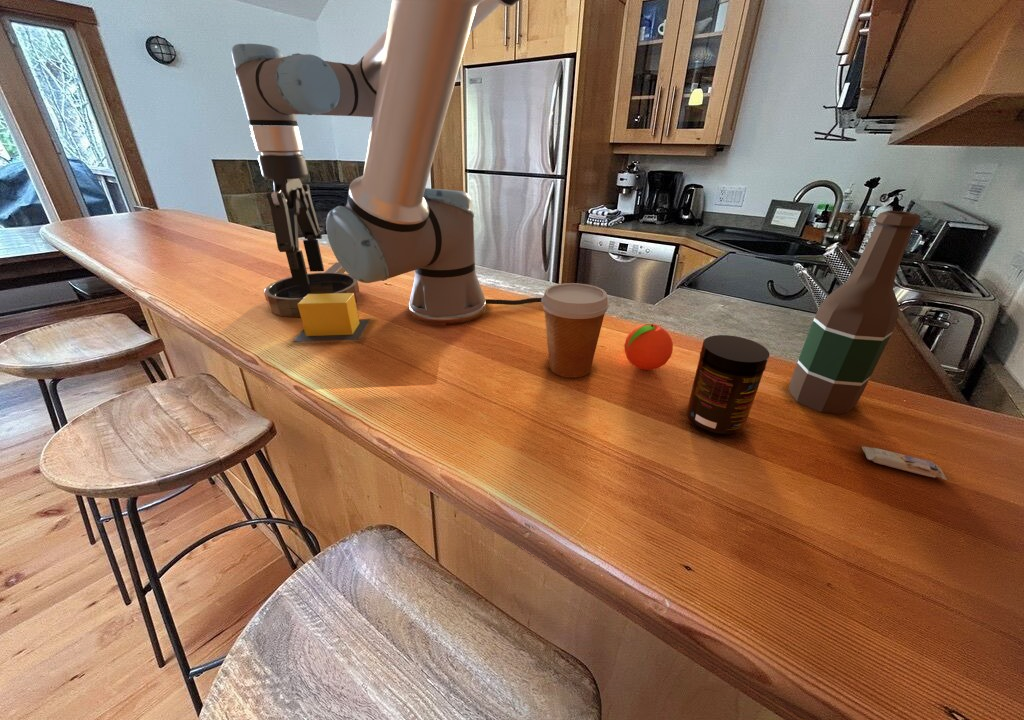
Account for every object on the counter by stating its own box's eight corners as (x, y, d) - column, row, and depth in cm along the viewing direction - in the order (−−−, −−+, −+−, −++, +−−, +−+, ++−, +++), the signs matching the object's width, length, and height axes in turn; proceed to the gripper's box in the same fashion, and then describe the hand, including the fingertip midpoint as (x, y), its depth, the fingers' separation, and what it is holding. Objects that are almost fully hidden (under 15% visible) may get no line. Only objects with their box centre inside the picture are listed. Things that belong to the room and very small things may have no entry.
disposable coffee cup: (582, 391, 57) (590, 310, 51) (526, 370, 62) (528, 294, 56) (612, 364, 64) (622, 290, 58) (559, 347, 69) (563, 278, 63)
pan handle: (347, 269, 104) (346, 262, 103) (334, 282, 94) (332, 275, 93) (336, 269, 103) (335, 262, 103) (322, 283, 94) (320, 275, 93)
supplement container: (750, 420, 51) (776, 346, 46) (735, 448, 47) (761, 368, 42) (695, 401, 55) (713, 330, 50) (676, 424, 51) (694, 349, 46)
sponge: (359, 323, 77) (353, 292, 74) (352, 334, 72) (346, 302, 69) (315, 324, 76) (307, 293, 73) (305, 336, 72) (297, 303, 69)
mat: (370, 321, 79) (370, 319, 78) (359, 342, 71) (358, 339, 71) (311, 323, 78) (311, 320, 78) (293, 344, 70) (292, 341, 70)
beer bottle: (858, 423, 51) (959, 221, 39) (785, 404, 54) (859, 214, 43) (852, 393, 57) (940, 210, 45) (787, 378, 60) (852, 205, 49)
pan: (368, 289, 95) (365, 271, 93) (348, 318, 80) (343, 298, 78) (290, 291, 94) (285, 273, 92) (254, 321, 79) (247, 300, 77)
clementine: (641, 385, 58) (649, 340, 55) (606, 365, 64) (612, 323, 60) (678, 370, 62) (687, 327, 59) (643, 352, 67) (650, 312, 64)
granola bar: (863, 462, 44) (867, 455, 44) (859, 449, 46) (863, 442, 46) (945, 483, 42) (950, 476, 41) (937, 469, 44) (942, 461, 43)
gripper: (283, 151, 82) (309, 263, 93) (227, 156, 64) (268, 295, 75) (321, 151, 83) (343, 262, 94) (277, 156, 64) (310, 294, 75)
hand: (309, 277), depth 84 cm, fingers open, 8 cm apart
